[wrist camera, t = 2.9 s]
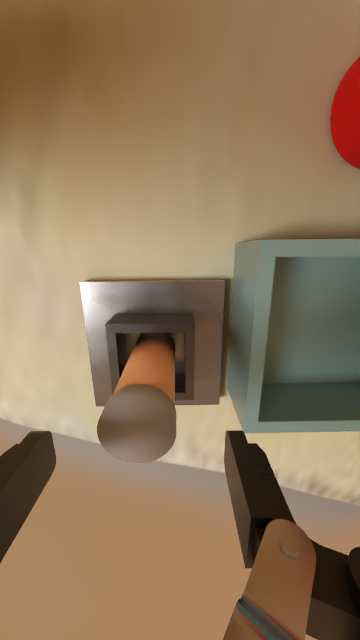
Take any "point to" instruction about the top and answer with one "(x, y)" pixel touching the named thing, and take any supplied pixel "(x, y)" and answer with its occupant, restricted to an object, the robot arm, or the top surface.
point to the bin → (296, 335)
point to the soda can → (347, 116)
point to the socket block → (156, 331)
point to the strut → (142, 403)
